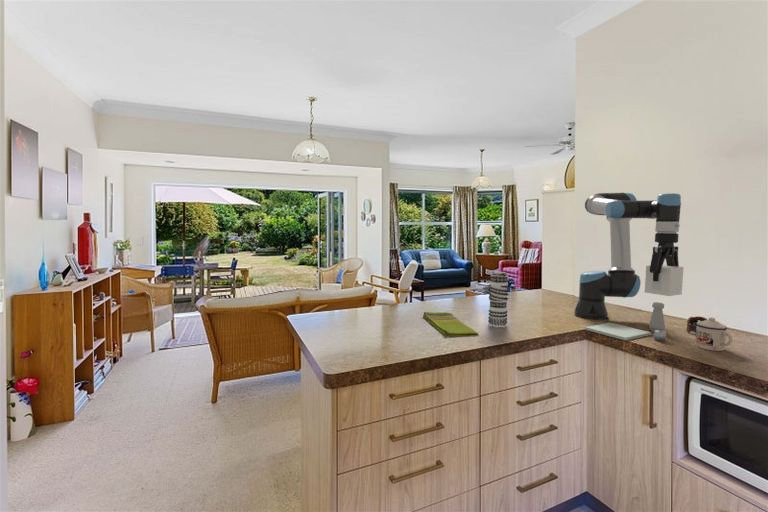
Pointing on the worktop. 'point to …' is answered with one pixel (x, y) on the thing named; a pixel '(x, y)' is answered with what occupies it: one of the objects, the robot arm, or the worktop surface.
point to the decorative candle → (498, 299)
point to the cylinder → (660, 335)
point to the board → (618, 331)
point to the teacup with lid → (712, 335)
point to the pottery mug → (693, 323)
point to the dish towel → (448, 324)
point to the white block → (666, 281)
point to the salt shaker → (657, 317)
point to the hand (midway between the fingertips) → (663, 288)
